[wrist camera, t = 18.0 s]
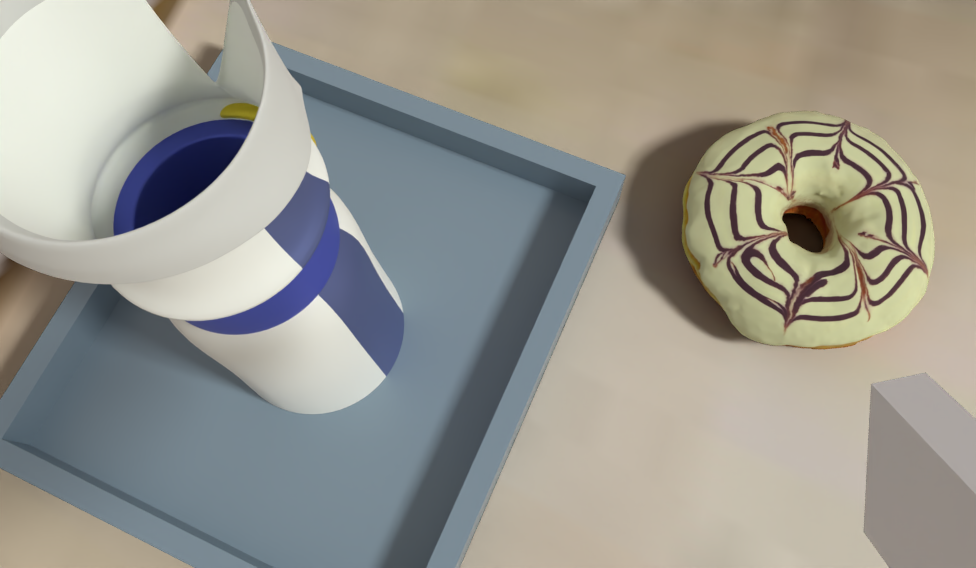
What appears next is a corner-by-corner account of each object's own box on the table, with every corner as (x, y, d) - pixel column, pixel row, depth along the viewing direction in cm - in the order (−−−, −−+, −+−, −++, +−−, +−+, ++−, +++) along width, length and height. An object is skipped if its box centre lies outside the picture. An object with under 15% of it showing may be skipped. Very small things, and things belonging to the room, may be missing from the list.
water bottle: (252, 222, 37) (-205, -348, 14) (429, 257, 37) (263, -287, 13) (193, 393, 35) (-488, 53, 11) (382, 435, 34) (71, 163, 10)
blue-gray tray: (253, 59, 41) (235, 28, 39) (618, 199, 38) (625, 175, 35) (6, 458, 35) (-33, 451, 33) (416, 667, 32) (407, 676, 29)
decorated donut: (737, 394, 35) (761, 376, 31) (637, 186, 38) (648, 148, 35) (951, 310, 36) (999, 284, 32) (834, 113, 39) (866, 69, 35)
